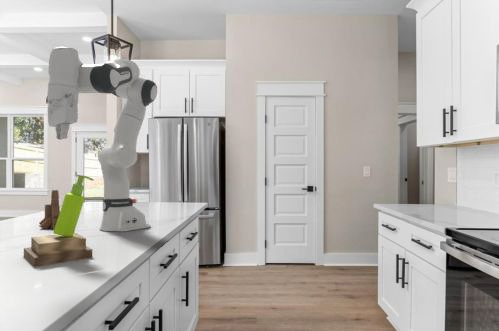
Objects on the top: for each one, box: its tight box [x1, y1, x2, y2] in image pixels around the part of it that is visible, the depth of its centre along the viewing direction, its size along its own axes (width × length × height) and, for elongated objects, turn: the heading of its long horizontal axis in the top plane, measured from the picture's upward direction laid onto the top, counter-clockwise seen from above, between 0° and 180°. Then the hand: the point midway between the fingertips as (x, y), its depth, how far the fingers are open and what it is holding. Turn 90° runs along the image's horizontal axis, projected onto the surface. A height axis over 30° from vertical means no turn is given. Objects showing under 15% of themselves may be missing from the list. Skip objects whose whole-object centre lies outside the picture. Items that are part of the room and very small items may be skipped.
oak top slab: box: [30, 232, 87, 256], centre depth 110 cm, size 13×13×4 cm
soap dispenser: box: [53, 174, 95, 236], centre depth 114 cm, size 6×7×20 cm
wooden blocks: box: [39, 189, 61, 231], centre depth 164 cm, size 25×12×18 cm, turn 34°
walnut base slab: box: [23, 245, 93, 267], centre depth 110 cm, size 16×16×4 cm
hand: (61, 139), depth 111 cm, fingers open, 3 cm apart
